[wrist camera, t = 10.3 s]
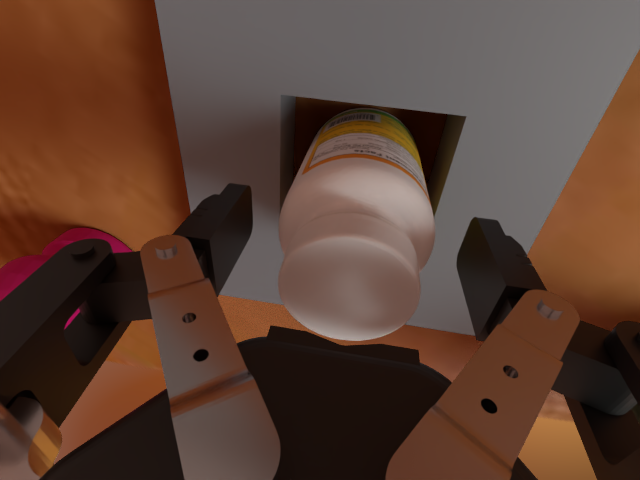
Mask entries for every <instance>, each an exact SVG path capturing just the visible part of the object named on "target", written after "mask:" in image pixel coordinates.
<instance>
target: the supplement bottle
mask: <svg viewBox="0 0 640 480" xmlns="http://www.w3.org/2000/svg"><path fill="white" fill-rule="evenodd" d="M278 229H279V240H280V244H281V248H282V251H283V253H284V255H285V256H284V259H283V262H282V265H281V268H280V272H279V276H278V289H279V294H280V298H281V300H282V302H283V304H284V306H285V307H286V309H287V310H288V311H289V313H290V314H291V315H292V316H293V317H294V318H295V319H296V320H297V321H298V322H300V323H301V324H302V325H304V326H305V327H307V328H308V329H310V330H312V331H314V332H316V333H319V334H321V335H324V336H327V337H331V338H335V339H341V340H351V341H360V340H369V339H374V338H378V337H382V336H385V335H387V334H390V333H392V332H394V331H395V330H397V329H399V328H400V327H401V326H403V325H404V324H405V323H406V322H407V321H408V320H409V319H410V318H411V317H412V315H413V314H414V312H415V311H416V309H417V306H418V303H419V300H420V293H421V286H420V276H419V273H420V271H421V270H422V269H423V268H424V266H425V265H426V263H427V261H428V259H429V257H430V255H431V253H432V250H433V246H434V241H435V222H434V216H433V211H432V207H431V203H430V199H429V195H428V191H427V187H426V182H425V178H424V174H423V170H422V165H421V161H420V156H419V152H418V149H417V146H416V143H415V140H414V138H413V136H412V134H411V133H410V131H409V130H408V128H407V127H406V126H405V125H404V124H403V123H402V122H401V121H400V120H399V119H397V118H396V117H395V116H393V115H391V114H389V113H387V112H385V111H382V110H378V109H373V108H355V109H350V110H347V111H344V112H342V113H339V114H337V115H336V116H334V117H332V118H331V119H330V120H328V121H327V122H326V123H325V124H324V125H323V126H322V127H321V128H320V130H319V131H318V133H317V134H316V136H315V138H314V140H313V141H312V143H311V145H310V147H309V150H308V152H307V154H306V156H305V158H304V160H303V162H302V165H301V167H300V169H299V171H298V173H297V175H296V177H295V179H294V181H293V184H292V186H291V188H290V190H289V192H288V194H287V196H286V198H285V201H284V204H283V206H282V209H281V213H280V217H279V226H278Z"/></svg>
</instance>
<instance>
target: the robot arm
mask: <svg viewBox="0 0 640 480" xmlns="http://www.w3.org/2000/svg"><path fill="white" fill-rule="evenodd" d="M252 229H253V210H252V191H251V187H250V186H249V185H242V184H234V183H229V184H228V185H227V186H226V187H225V188H224V190H223V191H222V192H221V193H220V195H218V194H213V195H211V196H209V197H207V198H205V199H204V200H202V201H201V202H200V204H199V205H198V206H197V207H196V209H194V210H193V212H192V213H191V214H190V216H188V217H187V218H186V220H185V221H184V222H183V223H182V224H181V225H180V226H179V228H178V229H177V230H176V231H175V232H174V233H173V234H172V235H165V236H160V237H157V238H154V239H152V240H150V241H148V242H147V243H146V244H144V245H143V247H142V248H141V251H137V252H121V253H113V250H112V247H111V245H110V243H109V242H107V241H105V240H103V239H96V238H91V239H83V240H79V241H75V242H73V243H70V244H68V245H66V246H64V247H63V248H61V249H60V250H59V251H58V252H57V253H55V254H54V255H53V256H52V257H51V258H50V259H48V260H47V261H46V262H45V263H44V264H43V265H42V266H40V267H39V268H38V269H37V270H36V271H35V272H33V273H32V274H31V275H30V276H29V277H28V278H27V279H25V280H24V281H23V282H22V283H21V284H20V285H18V286H17V287H16V288H15V289H14V290H13V291H12V292H10V293H9V294H8V295H7V296H6V297H5V298H3V299H2V300H1V301H0V480H538V479H537V478H536V477H535V476H534V475H533V474H532V473H531V471H530V470H529V469H528V468H527V467H526V466H525V464H524V463H523V462H522V461H521V460H520V459H519V458H518V455H519V453H520V451H521V449H522V447H523V445H524V443H525V440H526V438H527V437H528V434H529V432H530V430H531V428H532V426H533V424H534V422H535V420H536V418H537V416H538V414H539V412H540V410H541V408H542V406H543V404H544V402H545V400H546V398H547V396H548V394H549V392H550V390H554V391H556V392H558V393H561V394H563V395H564V397H565V399H566V402H567V404H568V407H569V409H570V412H571V414H572V417H573V419H574V422H575V425H576V427H577V430H578V432H579V435H580V437H581V440H582V442H583V445H584V447H585V450H586V452H587V455H588V457H589V460H590V462H591V465H592V467H593V470H594V473H595V475H596V478H597V480H640V424H639V423H638V421H637V419H636V417H635V415H634V413H633V412H632V410H631V409H632V408H633V407H634V406H635V405H636V404H637V403H638V405H639V407H640V323H637V322H631V321H624V322H620V323H619V324H617V326H616V327H615V328H614V329H613V330H612V331H608V330H605V329H603V328H600V327H597V326H594V325H592V324H589V323H586V322H583V321H581V320H580V316H579V314H578V312H577V310H576V309H575V308H574V307H573V306H572V305H571V304H570V303H569V302H568V301H566V300H565V299H563V298H562V297H560V296H558V295H556V294H554V293H551V292H548V291H547V290H546V288H545V286H544V284H543V283H542V281H541V279H540V277H539V275H538V274H537V272H536V270H535V268H534V267H533V266H532V263H531V261H530V259H529V258H527V254H526V252H525V251H524V249H523V247H522V245H520V244H519V243H518V242H517V241H516V240H515V239H513V238H512V237H511V236H507V235H505V233H504V231H503V229H502V227H501V225H500V223H499V222H498V220H494V219H486V218H479V217H474V218H473V219H472V220H471V222H470V224H469V226H468V229H467V231H466V234H465V236H464V239H463V242H462V244H461V247H460V249H459V252H458V255H457V262H456V266H457V271H458V275H459V278H460V282H461V286H462V289H463V293H464V297H465V300H466V304H467V307H468V311H469V315H470V318H471V322H472V325H473V329H474V333H475V336H476V340H479V341H484V343H483V344H482V345H481V346H480V348H479V349H478V350H477V352H476V353H475V354H474V355H473V357H472V358H471V359H470V361H469V362H468V363H467V364H466V366H465V367H464V368H463V370H462V371H461V372H460V373H459V375H458V376H457V377H456V379H455V380H454V381H453V382H451V381H449V380H448V379H447V378H446V377H444V376H443V375H442V374H440V373H439V372H437V371H436V370H434V369H432V368H430V367H428V366H426V365H424V364H422V363H420V361H419V351H418V350H415V349H409V348H403V347H397V346H391V345H385V344H370V345H351V346H343V345H339V344H336V343H334V342H331V341H329V340H326V339H324V338H321V337H319V336H316V335H314V334H311V333H309V332H306V331H301V330H295V329H289V328H283V327H277V326H270V329H269V332H268V335H267V337H258V338H252V339H248V340H245V341H242V342H239V343H237V344H236V341H235V339H234V337H233V334H232V332H231V329H230V327H229V325H228V322H227V320H226V318H225V315H224V313H223V310H222V308H221V306H220V303H219V301H218V298H217V297H218V296H219V294H220V292H221V290H222V288H223V286H224V285H225V283H226V281H227V279H228V277H229V275H230V273H231V272H232V270H233V268H234V266H235V264H236V262H237V261H238V259H239V257H240V255H241V253H242V251H243V250H244V248H245V246H246V244H247V242H248V240H249V238H250V236H251V233H252ZM78 308H79V310H80V312H79V313H78V315H77V316H76V317H75V318H74V319H73V320H72V321H71V323H70V324H69V325H68V326H67V327H66V328H65V326H66V323H67V321H68V320H69V318H70V317H71V316H72V315H73V314H74V313H75V312H76V310H77V309H78ZM145 319H152V320H153V325H154V329H155V334H156V339H157V344H158V348H159V353H160V358H161V363H162V367H163V372H164V377H165V381H166V386H167V389H165V390H164V391H162V392H160V393H159V394H158V395H156V396H154V397H153V398H152V399H150V400H149V401H147V402H146V403H144V404H142V405H141V406H140V407H138V408H136V409H135V410H134V411H132V412H131V413H129V414H128V415H126V416H124V417H123V418H121V419H120V420H118V421H117V422H115V423H114V424H112V425H111V426H109V427H108V428H106V429H105V430H103V431H102V432H101V433H99V434H97V435H96V436H94V437H93V438H91V439H90V440H88V441H87V442H85V443H84V444H82V445H81V446H79V447H78V448H76V449H75V450H73V451H72V452H70V453H69V454H68V455H66V456H65V457H63V458H62V459H61V460H59V461H58V462H57V463H56V464H55V465H54V461H55V459H56V457H57V455H58V453H59V451H60V447H61V444H62V434H61V431H60V430H59V427H60V426H61V424H62V422H63V421H64V420H65V418H66V417H67V415H68V414H69V412H70V411H71V409H72V408H73V407H74V405H75V404H76V402H77V401H78V399H79V398H80V396H81V395H82V393H83V392H84V390H85V389H86V387H87V386H88V384H89V383H90V382H91V380H92V379H93V377H94V376H95V374H96V373H97V371H98V370H99V368H100V367H101V366H102V364H103V363H104V361H105V360H106V358H107V357H108V355H109V354H110V352H111V351H112V349H113V348H114V346H115V345H116V344H117V342H118V341H119V339H120V338H121V336H122V335H123V333H124V332H125V330H126V329H127V327H128V326H129V324H130V323H131V322H132V321H135V320H145ZM64 329H65V330H64Z"/></svg>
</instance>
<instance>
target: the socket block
mask: <svg viewBox="0 0 640 480" xmlns="http://www.w3.org/2000/svg"><path fill="white" fill-rule="evenodd" d="M155 6H156V12H157V18H158V23H159V29H160V35H161V41H162V47H163V53H164V59H165V65H166V70H167V76H168V82H169V88H170V94H171V100H172V106H173V112H174V117H175V123H176V129H177V135H178V141H179V147H180V153H181V158H182V164H183V170H184V176H185V182H186V188H187V194H188V200H189V205H190V211H191V213H192V212H193V210H194V209H196V207H197V206H198V205H199V204H200V202H201V201H202V200H204V199H205V198H207V197H209V196H211V195H213V194H218V195H220V193H221V192H222V191H223V190H224V188H225V187H226V186H227V185H228V184H229V183H234V184H242V185H249V186H250V187H251V191H252V210H253V229H252V233H251V236H250V238H249V240H248V242H247V244H246V246H245V248H244V250H243V251H242V253H241V255H240V257H239V259H238V261H237V262H236V264H235V266H234V268H233V270H232V272H231V273H230V275H229V277H228V279H227V281H226V283H225V285H224V286H223V288H222V290H221V292H220V294H219V295H226V296H232V297H238V298H244V299H250V300H256V301H263V302H269V303H275V304H281V305H284V304H283V302H282V300H281V298H280V294H279V289H278V276H279V272H280V268H281V265H282V262H283V259H284V256H285V255H284V253H283V251H282V248H281V244H280V240H279V229H278V226H279V217H280V213H281V209H282V206H283V204H284V201H285V198H286V196H287V194H288V192H289V190H290V188H291V186H292V184H293V165H294V133H295V102H296V96H297V97H305V98H314V99H323V100H331V101H340V102H348V103H357V104H366V105H374V106H383V107H391V108H400V109H409V110H417V111H426V112H434V113H443V114H448V116H447V119H446V123H445V126H444V130H443V133H442V137H441V140H440V144H439V147H438V151H437V154H436V158H435V161H434V165H433V168H432V172H431V175H430V179H429V182H428V185H427V191H428V195H429V199H430V203H431V207H432V211H433V216H434V222H435V241H434V246H433V250H432V253H431V255H430V257H429V259H428V261H427V263H426V265H425V266H424V268H423V269H422V270H421V271H420V273H419V276H420V286H421V293H420V300H419V303H418V306H417V309H416V311H415V312H414V314H413V315H412V317H411V318H410V319H409V320H408V321H407V322H406V323H405V325H411V326H417V327H423V328H429V329H436V330H442V331H448V332H454V333H460V334H466V335H473V336H475V333H474V329H473V325H472V322H471V318H470V315H469V311H468V307H467V304H466V300H465V297H464V293H463V289H462V286H461V282H460V278H459V275H458V271H457V266H456V262H457V255H458V252H459V249H460V247H461V244H462V242H463V239H464V236H465V234H466V231H467V229H468V226H469V224H470V222H471V220H472V219H473V218H474V217H479V218H486V219H494V220H498V222H499V223H500V225H501V227H502V229H503V231H504V233H505V235H507V236H511V237H512V238H513V239H515V240H516V241H517V242H518V243H519V244H520V245H522V247H523V249H524V251H525V252H526V254H528V252H529V250H530V248H531V246H532V244H533V243H534V241H535V239H536V237H537V235H538V233H539V232H540V230H541V228H542V226H543V224H544V222H545V221H546V219H547V217H548V215H549V213H550V211H551V210H552V208H553V206H554V204H555V202H556V201H557V199H558V197H559V195H560V193H561V191H562V190H563V188H564V186H565V184H566V182H567V180H568V179H569V177H570V175H571V173H572V171H573V169H574V168H575V166H576V164H577V162H578V160H579V158H580V157H581V155H582V153H583V151H584V149H585V147H586V146H587V144H588V142H589V140H590V138H591V137H592V135H593V133H594V131H595V129H596V127H597V126H598V124H599V122H600V120H601V118H602V116H603V115H604V113H605V111H606V109H607V107H608V105H609V104H610V102H611V100H612V98H613V96H614V94H615V93H616V91H617V89H618V87H619V85H620V84H621V82H622V80H623V78H624V76H625V74H626V73H627V71H628V69H629V67H630V65H631V63H632V62H633V60H634V58H635V56H636V54H637V52H638V51H639V49H640V0H155Z"/></svg>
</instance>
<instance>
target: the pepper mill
mask: <svg viewBox="0 0 640 480" xmlns="http://www.w3.org/2000/svg"><path fill="white" fill-rule="evenodd" d="M91 238H96V239H103V240H105V241H107V242H109V243H110V245H111V247H112V250H113V253H121V252H133V251H132V250H131V249H129V248H128V247H127V246H126V245H125V244H124V243H122V242H121V241H119V240H118V239H116V238H115V237H113V236H111V235H109V234H107V233H104V232H102V231H99V230H95V229H90V228H74V229H70V230H68V231H66V232H64V233H63V234H62V235H60V236H59V237H57V238H56V239H55V240H53V241H52V242H51V243H49V244H48V245H47V246H46V247H45V248H44V249H43V251H42V255H28V256H24V257H20V258H17V259H15V260H12V261H10V262H8V263H7V264H6V265H4V266H3V267H2V268H1V269H0V301H1V300H2V299H3V298H5V297H6V296H7V295H8V294H9V293H10V292H12V291H13V290H14V289H15V288H16V287H17V286H18V285H20V284H21V283H22V282H23V281H24V280H25V279H27V278H28V277H29V276H30V275H31V274H32V273H33V272H35V271H36V270H37V269H38V268H39V267H40V266H42V265H43V264H44V263H45V262H46V261H47V260H48V259H50V258H51V257H52V256H53V255H54V254H55V253H57V252H58V251H59V250H60V249H61V248H63V247H64V246H66V245H68V244H70V243H73V242H75V241H79V240H83V239H91ZM79 312H80V310H79V308H78V309H77V310H76V312H75V313H74V314H73V315H72V316H71V317H70V318H69V320H68V321H67V323H66V326H65V328H66V327H67V326H68V325H69V324H70V323H71V321H72V320H73V319H74V318H75V317H76V316H77V315H78V313H79ZM64 330H65V329H64Z"/></svg>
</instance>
